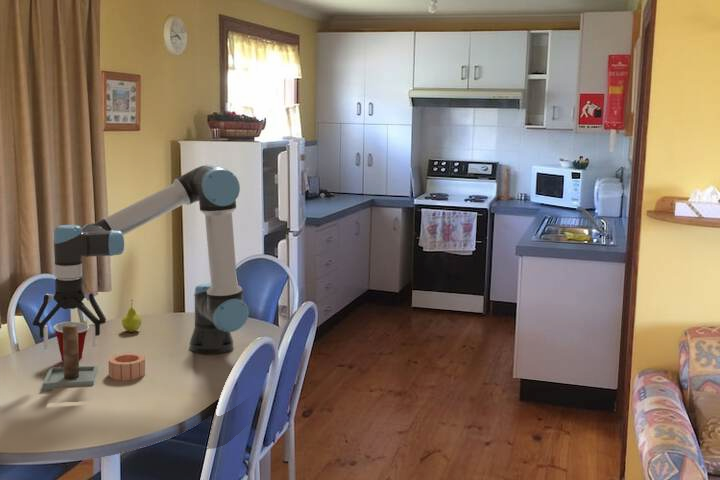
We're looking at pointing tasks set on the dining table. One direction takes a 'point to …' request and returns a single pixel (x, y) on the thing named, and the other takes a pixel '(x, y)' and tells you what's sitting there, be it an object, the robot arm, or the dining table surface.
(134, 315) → the fruit
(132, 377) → the pink brick ring
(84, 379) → the dish
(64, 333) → the dowel
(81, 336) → the plastic cup
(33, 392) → the dining table surface
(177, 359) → the dining table surface
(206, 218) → the robot arm
